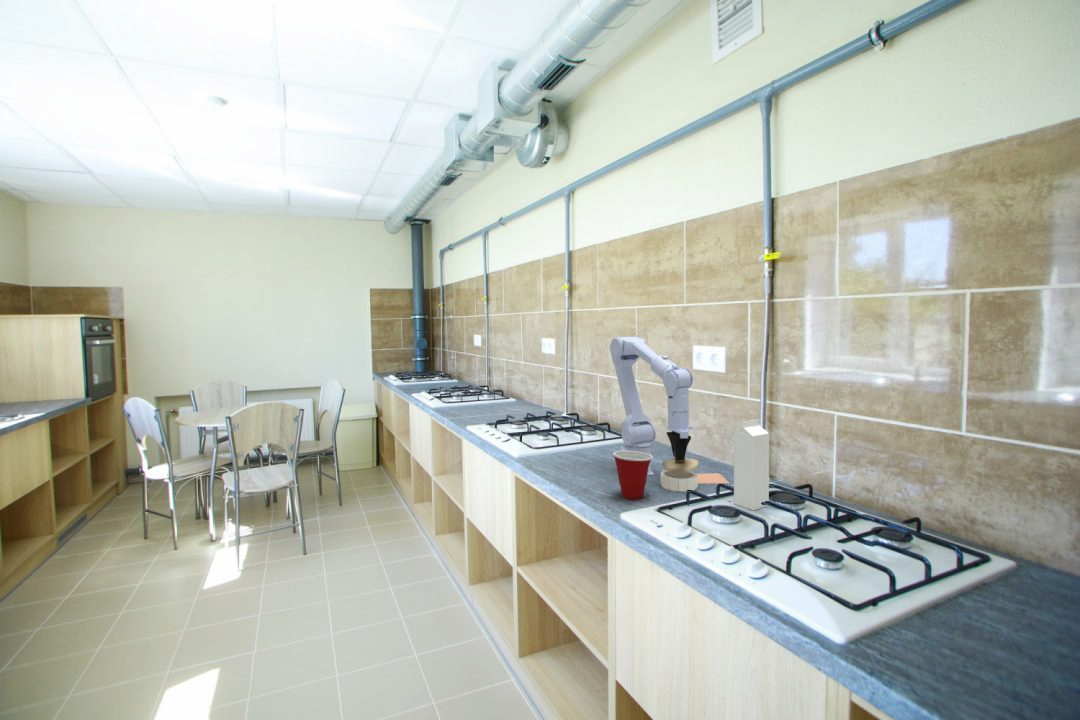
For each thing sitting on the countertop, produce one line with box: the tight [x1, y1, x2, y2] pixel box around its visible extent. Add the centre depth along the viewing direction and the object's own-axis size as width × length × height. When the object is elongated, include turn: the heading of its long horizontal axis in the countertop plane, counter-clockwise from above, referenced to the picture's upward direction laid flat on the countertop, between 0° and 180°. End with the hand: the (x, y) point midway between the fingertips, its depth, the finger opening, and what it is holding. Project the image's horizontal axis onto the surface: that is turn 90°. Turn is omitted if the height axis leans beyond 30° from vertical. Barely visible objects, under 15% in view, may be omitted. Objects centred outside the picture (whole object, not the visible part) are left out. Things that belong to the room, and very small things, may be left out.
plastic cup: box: [612, 450, 654, 501], centre depth 140 cm, size 11×11×12 cm
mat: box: [696, 472, 730, 485], centre depth 153 cm, size 10×10×1 cm
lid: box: [662, 451, 699, 472], centre depth 146 cm, size 10×10×5 cm
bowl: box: [660, 469, 699, 492], centre depth 147 cm, size 10×10×4 cm
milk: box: [733, 419, 770, 511], centre depth 131 cm, size 6×6×22 cm
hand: (678, 458), depth 146 cm, fingers closed on lid, 3 cm apart
